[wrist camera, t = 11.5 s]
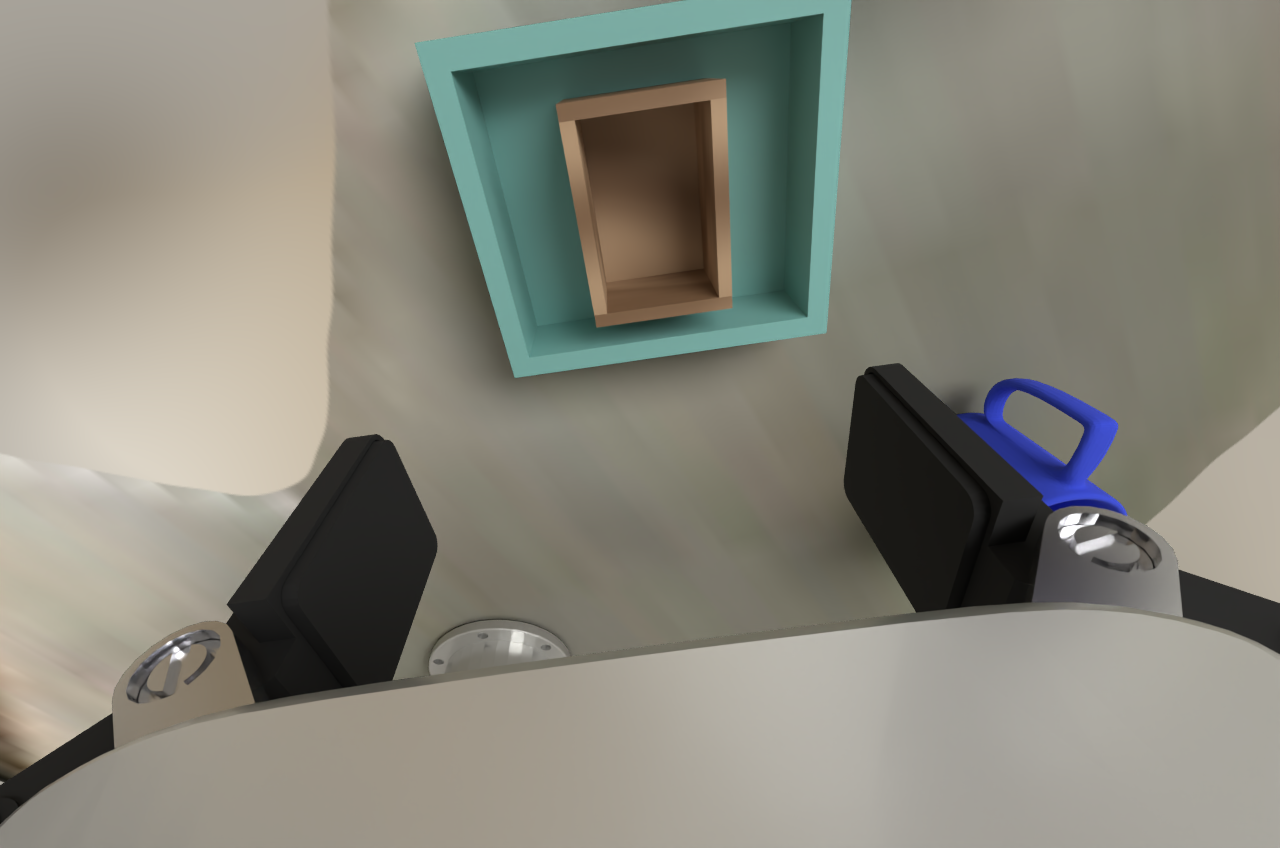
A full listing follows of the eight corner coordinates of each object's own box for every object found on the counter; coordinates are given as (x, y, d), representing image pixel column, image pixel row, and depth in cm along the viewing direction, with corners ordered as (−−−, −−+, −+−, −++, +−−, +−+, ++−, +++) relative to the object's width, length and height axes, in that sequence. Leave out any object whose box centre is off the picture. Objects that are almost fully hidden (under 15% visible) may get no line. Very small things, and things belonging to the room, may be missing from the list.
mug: (1056, 343, 34) (1207, 432, 25) (984, 488, 40) (1084, 596, 32) (933, 344, 33) (1044, 435, 25) (880, 491, 40) (954, 601, 31)
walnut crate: (713, 274, 29) (732, 308, 24) (597, 291, 29) (596, 327, 25) (704, 78, 24) (726, 78, 19) (563, 99, 24) (555, 104, 20)
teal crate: (795, 298, 31) (826, 333, 27) (526, 337, 31) (514, 378, 27) (807, -8, 23) (853, -27, 19) (447, 48, 23) (414, 43, 19)
